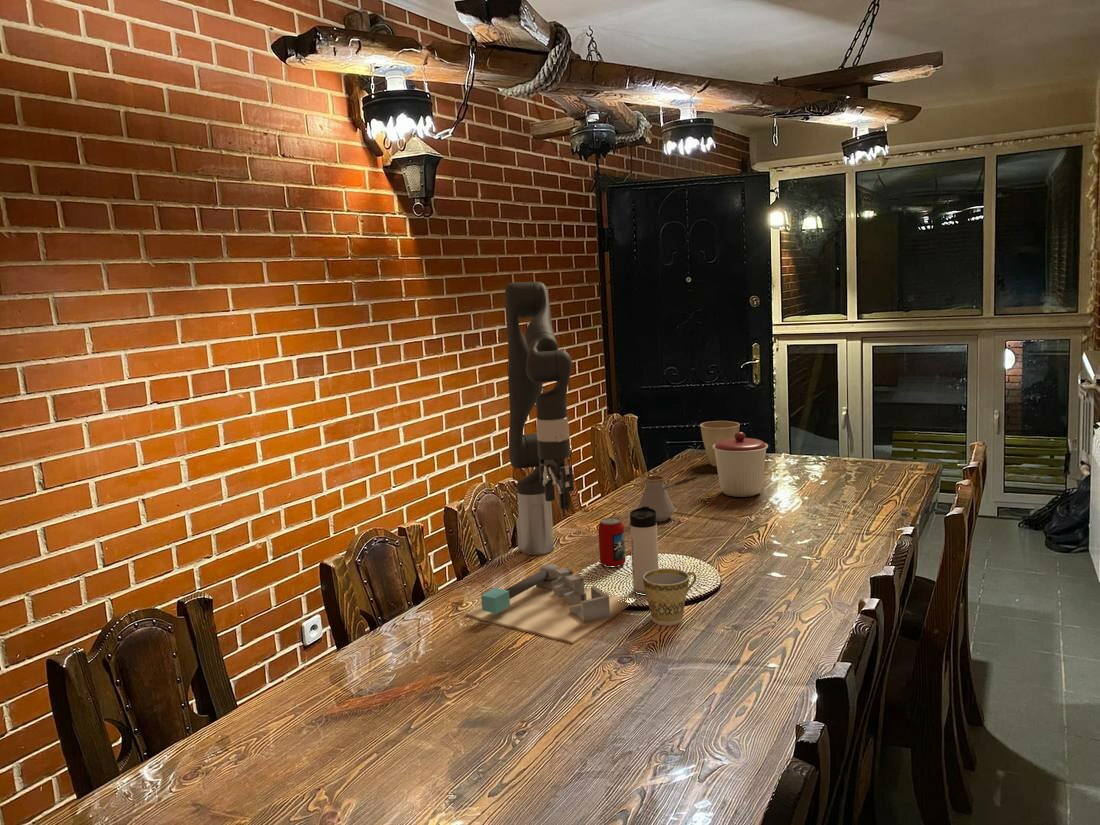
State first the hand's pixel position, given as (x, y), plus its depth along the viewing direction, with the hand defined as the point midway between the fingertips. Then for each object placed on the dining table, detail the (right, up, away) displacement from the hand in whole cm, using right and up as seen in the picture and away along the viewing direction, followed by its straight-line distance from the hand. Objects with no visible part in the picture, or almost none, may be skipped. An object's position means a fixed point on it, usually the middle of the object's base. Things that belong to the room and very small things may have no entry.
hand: (557, 504), depth 192 cm
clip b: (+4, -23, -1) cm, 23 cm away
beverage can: (+15, -19, +24) cm, 33 cm away
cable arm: (-8, -21, +1) cm, 22 cm away
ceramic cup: (+25, -24, -12) cm, 37 cm away
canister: (+63, -6, +84) cm, 105 cm away
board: (-1, -24, -3) cm, 24 cm away
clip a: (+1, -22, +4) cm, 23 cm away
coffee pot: (+35, -12, +59) cm, 69 cm away
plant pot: (+65, +1, +126) cm, 142 cm away
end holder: (+6, -24, -9) cm, 26 cm away
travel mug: (+21, -21, +4) cm, 30 cm away
